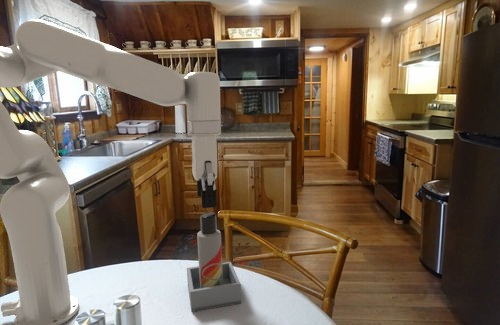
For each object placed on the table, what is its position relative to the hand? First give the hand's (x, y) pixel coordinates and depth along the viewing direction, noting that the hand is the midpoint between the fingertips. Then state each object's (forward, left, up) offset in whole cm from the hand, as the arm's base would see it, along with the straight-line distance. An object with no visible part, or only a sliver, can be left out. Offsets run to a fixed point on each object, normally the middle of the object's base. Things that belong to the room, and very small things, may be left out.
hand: (206, 201), depth 79 cm
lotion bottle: (0, 0, -23) cm, 23 cm away
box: (0, 0, -24) cm, 24 cm away
